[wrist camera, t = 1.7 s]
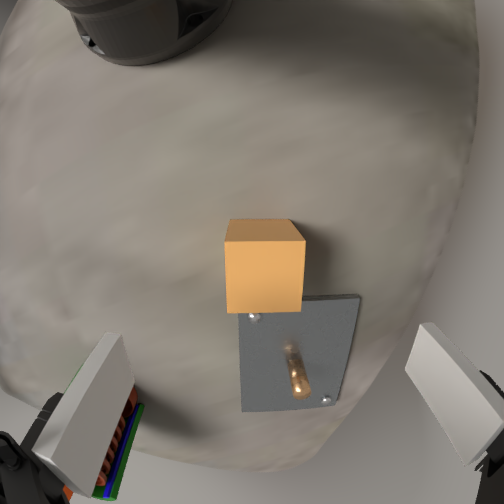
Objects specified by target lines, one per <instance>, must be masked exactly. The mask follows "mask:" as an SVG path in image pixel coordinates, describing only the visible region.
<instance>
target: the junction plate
mask: <svg viewBox="0 0 504 504" xmlns="http://www.w3.org/2000/svg"><path fill="white" fill-rule="evenodd" d="M359 302H360V298H359V296H358V295H357V294H347V295H327V296H302V303H301V312H275V313H238V317H239V350H240V379H241V404H242V412H265V411H284V410H297V409H308V408H317V407H326V406H333V405H335V404H336V400H337V397H338V393H339V390H340V386H341V383H342V379H343V375H344V371H345V367H346V363H347V359H348V355H349V351H350V346H351V342H352V337H353V333H354V328H355V323H356V318H357V313H358V307H359Z"/></svg>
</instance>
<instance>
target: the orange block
mask: <svg viewBox="0 0 504 504" xmlns="http://www.w3.org/2000/svg"><path fill="white" fill-rule="evenodd" d="M305 246H306V241H305V239H304V238H303V237H302V235H301V234H300V233H299V231H298V230H297V229H296V228H295V226H294V225H293V224H292V222H291V221H290V220H289V219H237V220H230V221H229V225H228V229H227V234H226V238H225V269H226V294H227V313H275V312H301V303H302V291H303V277H304V263H305Z"/></svg>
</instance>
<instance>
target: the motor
mask: <svg viewBox="0 0 504 504" xmlns="http://www.w3.org/2000/svg"><path fill="white" fill-rule="evenodd" d="M82 366H83V365H82ZM82 366H81V367H82ZM80 369H81V368H80ZM80 369H79V370H80ZM78 372H79V371H78ZM78 372H77V373H78ZM76 375H77V374H76ZM76 375H75V376H76ZM74 378H75V377H74ZM74 378H73V380H74ZM73 380H72V381H73ZM72 381H71V383H72ZM71 383H70V384H71ZM69 386H70V385H69ZM69 386H68V387H69ZM67 389H68V388H67ZM67 389H66V390H67ZM65 392H66V391H65ZM65 392H64V394H65ZM137 398H138V396H137V392H136V390H135V388H134V387H133V388H132V390H131V392H130V395H129V397H128V399H127V402H126V404H125V407H124V409H123V412H122V414H121V417H120V419H119V422H118V424H117V427H116V429H115V432H114V434H113V437H112V440H111V442H110V445H109V447H108V450H107V453H106V456H105V458H104V461H103V464H102V467H101V469H100V472H99V475H98V478H97V481H96V484H95V487H94V490H93V493H92V496H91V497H93V498H97V499H101V500H106V501H114V500H116V499H117V495H118V491H119V487H120V484H121V481H122V477H123V473H124V470H125V467H126V463H127V460H128V456H129V453H130V450H131V447H132V443H133V440H134V437H135V434H136V431H137V427H138V424H139V421H140V418H141V415H142V412H143V409H144V405H142V404H140V405H136V402H137ZM135 405H136V406H135ZM63 491H64V492H65V494H66V496H67V498H68V501H69V500H70V499H71V496H72V494H73V492H72V491H71V490H70V489H69V488H68V487H67V486H66V485H65V486H64V488H63Z"/></svg>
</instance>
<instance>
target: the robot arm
mask: <svg viewBox="0 0 504 504" xmlns="http://www.w3.org/2000/svg"><path fill="white" fill-rule="evenodd" d="M55 1H56V2H58V3H59V4H61V5H62V6H64V7H65V8H67V9H68V10H69V11H70V13H71V16H72V18H73V20H74V23H75V25H76V27H77V30H78V32H79V34H80V37H81V39H82V41H83V42H84V44H85V45H86V46H87V47H88V48H89V49H90V50H91V51H92V52H94V53H95V54H97V55H98V56H100V57H101V58H103V59H105V60H107V61H109V62H111V63H115V64H119V65H129V66H134V65H145V64H151V63H155V62H159V61H162V60H166V59H168V58H171V57H174V56H176V55H178V54H180V53H182V52H184V51H186V50H188V49H190V48H192V47H193V46H195V45H196V44H198V43H199V42H201V41H202V40H204V39H205V38H206V37H207V36H208V35H210V34H211V33H212V32H213V31H214V30H215V29H216V28H217V27H218V26H219V24H220V23H221V22H222V21H223V19H224V18H225V16H226V14H227V13H228V11H229V8H230V6H231V2H232V0H55ZM405 371H406V372H407V374H408V375H409V377H410V378H411V380H412V381H413V383H414V384H415V386H416V387H417V389H418V390H419V392H420V393H421V395H422V396H423V398H424V400H425V401H426V403H427V404H428V406H429V407H430V409H431V411H432V412H433V414H434V415H435V417H436V419H437V420H438V422H439V424H440V425H441V427H442V428H443V430H444V432H445V433H446V435H447V437H448V438H449V440H450V442H451V444H452V445H453V447H454V449H455V450H456V452H457V454H458V456H459V457H460V459H461V460H462V462H463V464H464V466H467V465H469V464H471V463H472V462H474V461H476V460H477V459H478V458H479V457H480V456H481V455H482V454H483V453H484V452H485V451H487V453H488V454H487V455H486V456H485V457H484V459H483V460H482V461H481V462H480V463H479V464H478V465H477V466H476V468H475V471H477V470H478V469H479V468H480V467H481V466H482V465H483V467H482V468H481V469H480V471H481V472H482V476H481V481H480V486H479V490H478V495H477V498H476V502H475V504H504V392H503V391H501V389H500V388H499V386H498V385H496V383H495V382H494V381H493V379H492V378H491V377H490V376H489V375H487V374H486V373H484V372H482V371H481V370H480V371H479V370H478V369H477V368H476V367H475V366H474V365H473V364H472V363H471V362H470V361H469V359H468V358H467V357H466V356H465V355H464V354H463V353H462V352H461V351H460V350H459V349H458V348H457V347H456V346H455V345H454V344H453V342H451V340H449V338H448V337H447V336H446V335H445V334H444V333H443V332H442V331H441V330H440V329H439V328H438V327H437V326H436V325H435V324H434V323H433V322H428V323H422V324H420V326H419V329H418V332H417V335H416V338H415V342H414V345H413V348H412V351H411V353H410V356H409V359H408V362H407V365H406V367H405ZM134 383H135V379H134V376H133V373H132V369H131V366H130V363H129V360H128V357H127V353H126V350H125V346H124V343H123V339H122V335H121V334H119V333H109V332H106V333H105V334H104V335H103V337H102V338H101V340H100V341H99V342H98V344H97V345H96V347H95V348H94V350H93V351H92V353H91V354H90V355H89V357H88V358H87V360H86V361H85V363H84V364H83V366H82V367H81V369H80V370H79V372H78V373H77V375H76V376H75V378H74V380H73V381H72V383H71V384H70V386H69V387H68V389H67V390H66V392H65V394H62V393H59V392H57V393H56V394H55V395H53V396H52V397H51V398H50V399H48V401H47V402H46V404H45V405H44V407H43V408H42V411H40V413H39V415H38V416H37V417H38V418H37V419H36V420H35V421H34V423H33V424H32V426H31V428H30V429H29V431H28V433H27V434H26V436H25V438H24V440H23V441H22V443H21V445H20V446H19V445H18V444H17V443H16V441H15V440H14V439H13V438H12V437H11V436H10V435H9V434H8V433H6V432H4V431H0V504H70V503H69V501H68V498H67V496H66V494H65V492H64V491H63V488H64V486H65V485H66V486H67V487H68V488H69V489H70V490H71V491H72V492H75V493H77V494H80V495H83V496H86V497H88V498H91V496H92V493H93V490H94V487H95V484H96V481H97V478H98V475H99V472H100V469H101V467H102V464H103V461H104V458H105V456H106V453H107V450H108V447H109V445H110V442H111V440H112V437H113V434H114V432H115V429H116V427H117V424H118V422H119V419H120V417H121V414H122V412H123V409H124V407H125V404H126V402H127V399H128V397H129V395H130V392H131V390H132V388H133V385H134Z"/></svg>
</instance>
